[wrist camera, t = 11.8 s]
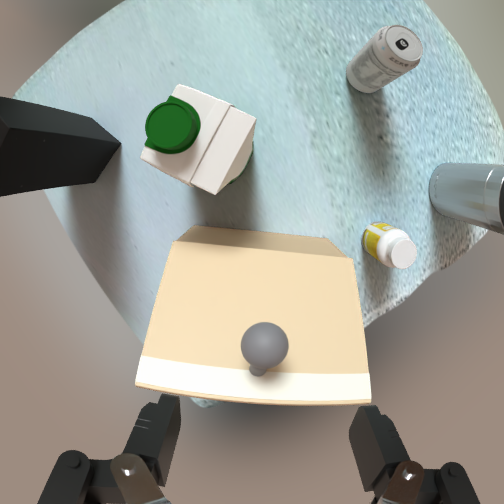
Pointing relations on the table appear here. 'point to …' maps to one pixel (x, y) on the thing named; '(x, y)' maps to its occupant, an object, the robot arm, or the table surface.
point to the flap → (256, 328)
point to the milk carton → (199, 139)
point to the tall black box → (49, 147)
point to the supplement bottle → (389, 245)
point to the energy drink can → (384, 58)
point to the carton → (261, 240)
